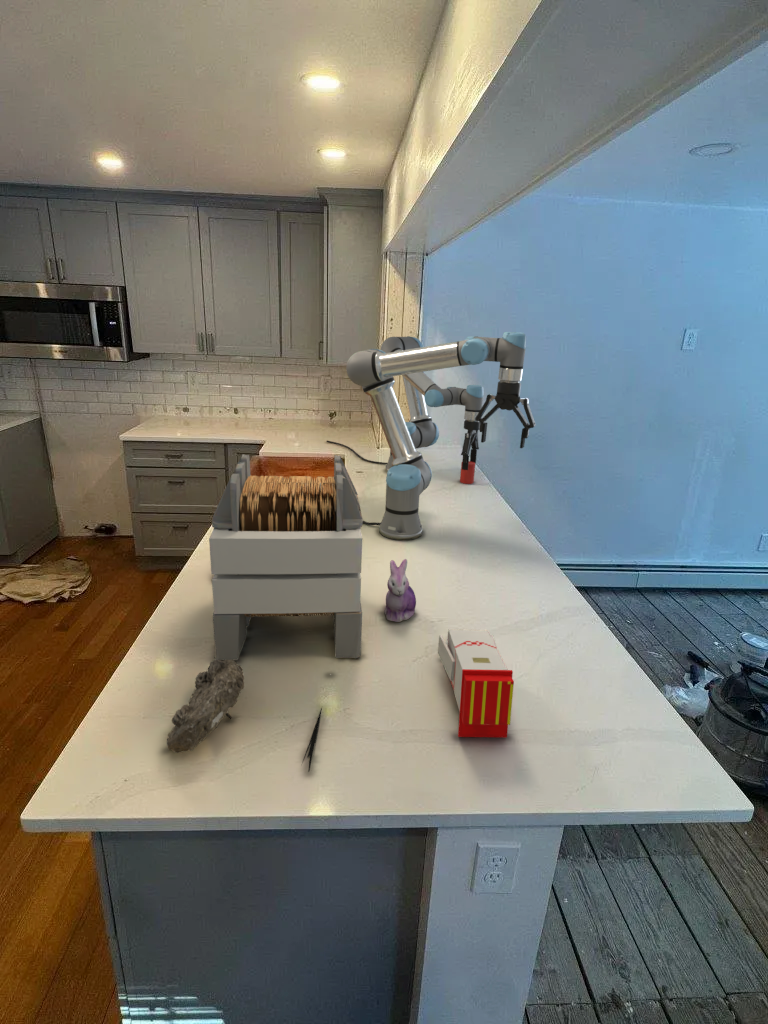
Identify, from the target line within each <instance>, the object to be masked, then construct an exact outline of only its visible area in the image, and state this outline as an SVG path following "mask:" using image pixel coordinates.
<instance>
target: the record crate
mask: <svg viewBox="0 0 768 1024" xmlns="http://www.w3.org/2000/svg"><path fill="white" fill-rule="evenodd" d="M333 460H334V461H333V469H334V470H333V476H327V477H325V476H321V475H319V476H314V477H313V476H311V475H309V476H307V475H290V476H283V475H279V476H278V475H265V476H264V475H259V476H258V475H251V459H250V454H243V453H242V454H241V456H240V459H239V461H238V462H237V464H236V466H235V469H234V471H233V473H232V474H231V475H230V478H229V479H228V482H227V484H226V486H225V489H224V491H223V493H222V496H221V498H220V500H219V502H218V504H217V507H216V508H215V511H214V513H213V516H212V518H211V527H212V528H213V529H212V531H211V534H210V535H209V538H208V543H209V559H210V574H211V575H213V576H212V579H211V587H212V588H211V589H212V600H213V601H212V603H213V612H212V629H213V630H212V631H213V640H214V649H215V657H214V660H217V661H224V660H227V659H228V660H231V659H232V660H234V661H238V660H239V658H240V654H241V653H242V649H243V647H244V645H245V642H246V640H247V636H248V632H247V630H248V629H247V627H249V626H250V624H251V623H250V622H251V618H253V617H254V618H255V617H258V618H259V617H264V618H265V617H267V618H268V617H292V616H293V617H308V616H310V617H311V616H333V618H332V619H333V626H334V627H333V636H334V638H333V639H334V640H333V641H334V658H337V659H342V658H344V659H345V658H347V659H349V658H352V659H358V658H359V657H361V656H362V633H363V632H362V631H363V630H362V629H363V611H362V603H361V590H362V576H361V574H362V563H363V562H362V561H363V534H362V529H361V528H362V527H363V525H364V524H363V521H364V519H363V515H362V509H361V505H360V499H359V494H358V492H357V489H356V487H355V485H354V483H353V481H352V478H351V477H350V474H349V472H348V470H347V468H346V466H345V463H344V461H343V459H342V456H341V455H336V454H334V458H333Z"/></svg>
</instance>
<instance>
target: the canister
mask: <svg viewBox="0 0 768 1024" xmlns="http://www.w3.org/2000/svg"><path fill="white" fill-rule="evenodd" d="M475 472H476V464H475V462H471V461H470V460H469V464H468V470H463V469H462V462H461V465H460V475H459V483H461V484H465V485H472V484H474V480H475Z"/></svg>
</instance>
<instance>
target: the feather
mask: <svg viewBox="0 0 768 1024" xmlns="http://www.w3.org/2000/svg"><path fill="white" fill-rule="evenodd" d="M329 675H330V676H331V675H332V674H331V673H330V674H329ZM322 710H323V707H321V708H320V710H319V713H318V716H317V719H316V723H315V725H314V728H313V731H312V733H311V737H310V739H309V742H308V745H307V748H306V751H305V754H304V757H303V760H302V763H301V767H302V765H303V763H304V761H305V758H308V759H309V760H308V762H307V763H308V764H307V766H308V771H310V770H311V766H312V765H311V764H312V760H313V757H315V756H314V755H315V751H316V749H315V746H317V739H318V733H319V729H320V722H321V717H322V712H323V711H322ZM313 754H314V755H313ZM306 755H307V757H306Z"/></svg>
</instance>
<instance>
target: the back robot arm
mask: <svg viewBox="0 0 768 1024" xmlns="http://www.w3.org/2000/svg"><path fill="white" fill-rule="evenodd" d="M421 347H424V345H423V343H422V341H421V340H420V339H419V338H417V337H415V336H410V335H409V336H390V337H387V338H385V340H383V342H382V344H381V346H380V349H379V350H381V351H383V352H385V353H390V352H397V351H403V350H409V349H415V348H421ZM424 372H425V371H424ZM424 372H418V373H411V374H405V375H401V376H402V380H403V386H404V391H405V397H406V401H407V406H408V411H409V416H410V417H409V418H410V419H409V421H405V423H406V425H407V428H408V431H409V433H410V436H411V439H412V442H413V444H414V447H415V450H416V449H421V448H422V449H423V448H428V447H431V446H433V445H435V444H436V443H437V441H438V440H439V436H440V429H439V426H438V425H437V423H435V422H433V418H432V416H430V415H429V414H428V408H427V406H428V407H429V408H439V407H447V406H454V405H457V406H464V417H463V419H464V420H463V429H464V430H467V432H465V433H464V440H463V445H462V450H461V453H460V456H462V459H461V460H462V461H461V463H462V469H463V470H468V464H469V461H471V462H475V465H476V464H477V453H478V451H479V450H480V447H479V430H480V422H479V421H476V420H475V418H476V416H477V415H478V413H479V411H480V410H481V408H482V406H483V404H484V396H485V395H484V387H483V386H482V385H480V384H468V385H467V386H466V388H463V387H456V386H447V387H446V388H441V387H440V386H439V385H438V384H437V383H436V382H435V381H433V380H432V378H430V377H429V376H428V375H427V374H426V373H424ZM326 443H328V444H329V443H330V444H334V445H337V446H341V447H344V448H346V449H348V450H350V451H351V452H352V453H353V454H354V455H356V456H357V457H358V458H360V459H361V460H362V461H364V462H367V463H371V464H378V465H385V472H386V473H387V472H388V470H389V469H390V468H391V467H392V462H393V459H394V458H393V455H392V453H391V450H390V449H389V457H388V459H387V462H383V461H376V460H375V461H374V460H370V459H366V458H364V457H363V456H361V455H360V454H358V452H356V451H355V450H354V449H353V448H351V447H350V446H348V445H345V444H343V443H339V442H336V441H331V440H326ZM469 454H470V455H469Z"/></svg>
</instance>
